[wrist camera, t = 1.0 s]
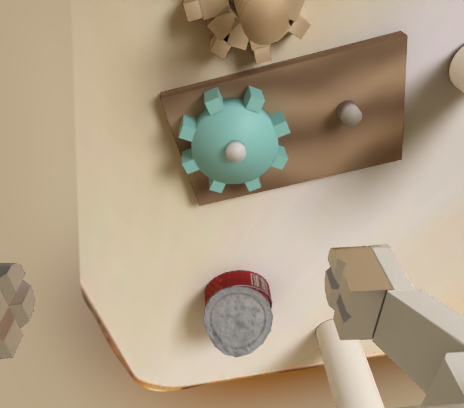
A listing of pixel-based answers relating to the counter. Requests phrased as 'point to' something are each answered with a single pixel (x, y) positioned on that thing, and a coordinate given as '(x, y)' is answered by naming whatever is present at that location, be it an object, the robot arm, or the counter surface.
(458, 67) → the drinking glass
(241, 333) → the canned food
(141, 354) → the counter surface
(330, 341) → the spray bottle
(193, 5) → the loose gear
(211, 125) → the gear
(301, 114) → the gear board
